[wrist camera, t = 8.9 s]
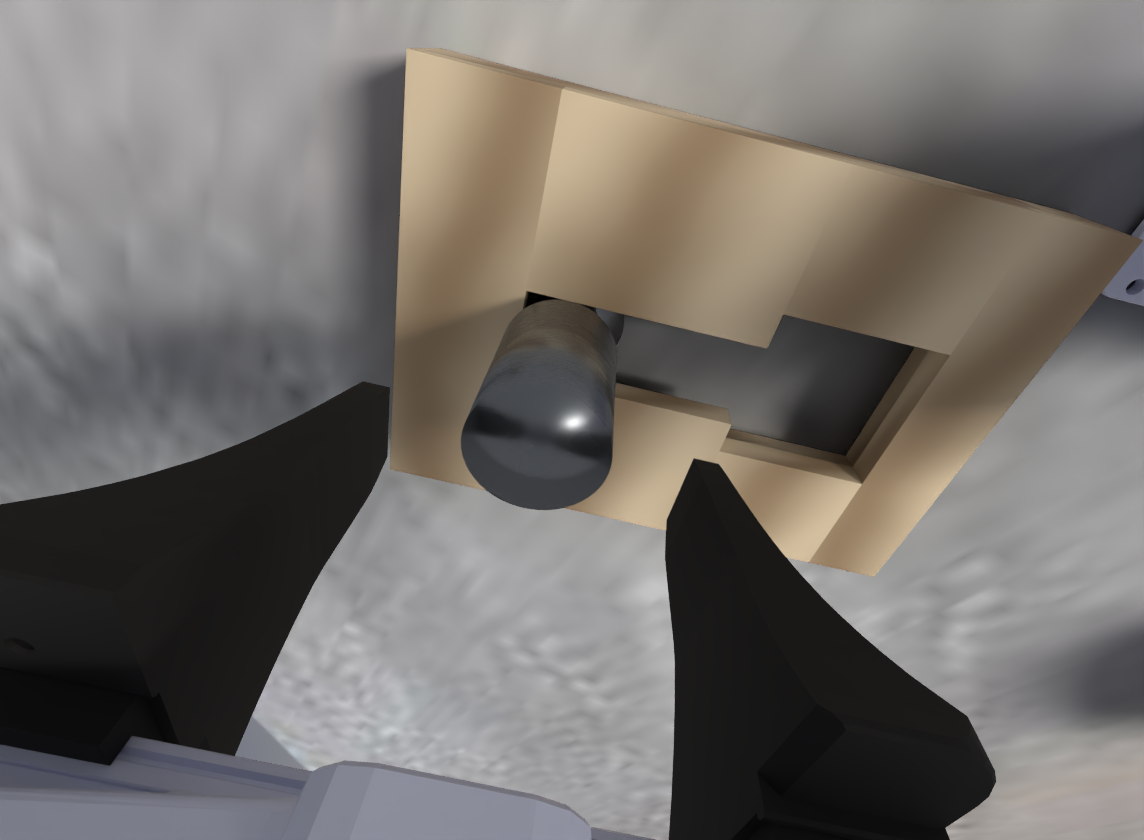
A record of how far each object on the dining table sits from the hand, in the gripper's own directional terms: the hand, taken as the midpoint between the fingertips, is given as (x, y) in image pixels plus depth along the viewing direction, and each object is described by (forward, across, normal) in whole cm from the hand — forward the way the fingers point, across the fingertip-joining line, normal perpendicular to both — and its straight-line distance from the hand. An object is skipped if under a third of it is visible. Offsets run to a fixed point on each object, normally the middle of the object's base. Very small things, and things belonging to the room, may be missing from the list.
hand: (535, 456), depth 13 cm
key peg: (+9, 0, 0) cm, 9 cm away
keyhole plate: (+9, -4, 0) cm, 10 cm away
